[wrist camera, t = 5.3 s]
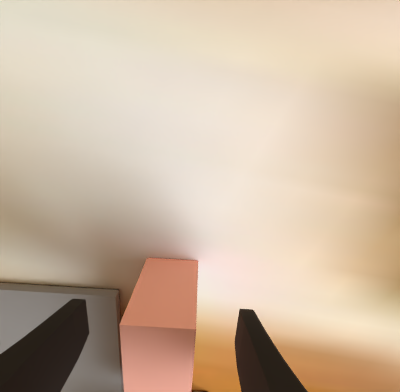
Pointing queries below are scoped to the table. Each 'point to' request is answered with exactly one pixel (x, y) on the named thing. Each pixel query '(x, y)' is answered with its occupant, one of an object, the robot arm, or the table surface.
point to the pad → (97, 339)
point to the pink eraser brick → (160, 328)
